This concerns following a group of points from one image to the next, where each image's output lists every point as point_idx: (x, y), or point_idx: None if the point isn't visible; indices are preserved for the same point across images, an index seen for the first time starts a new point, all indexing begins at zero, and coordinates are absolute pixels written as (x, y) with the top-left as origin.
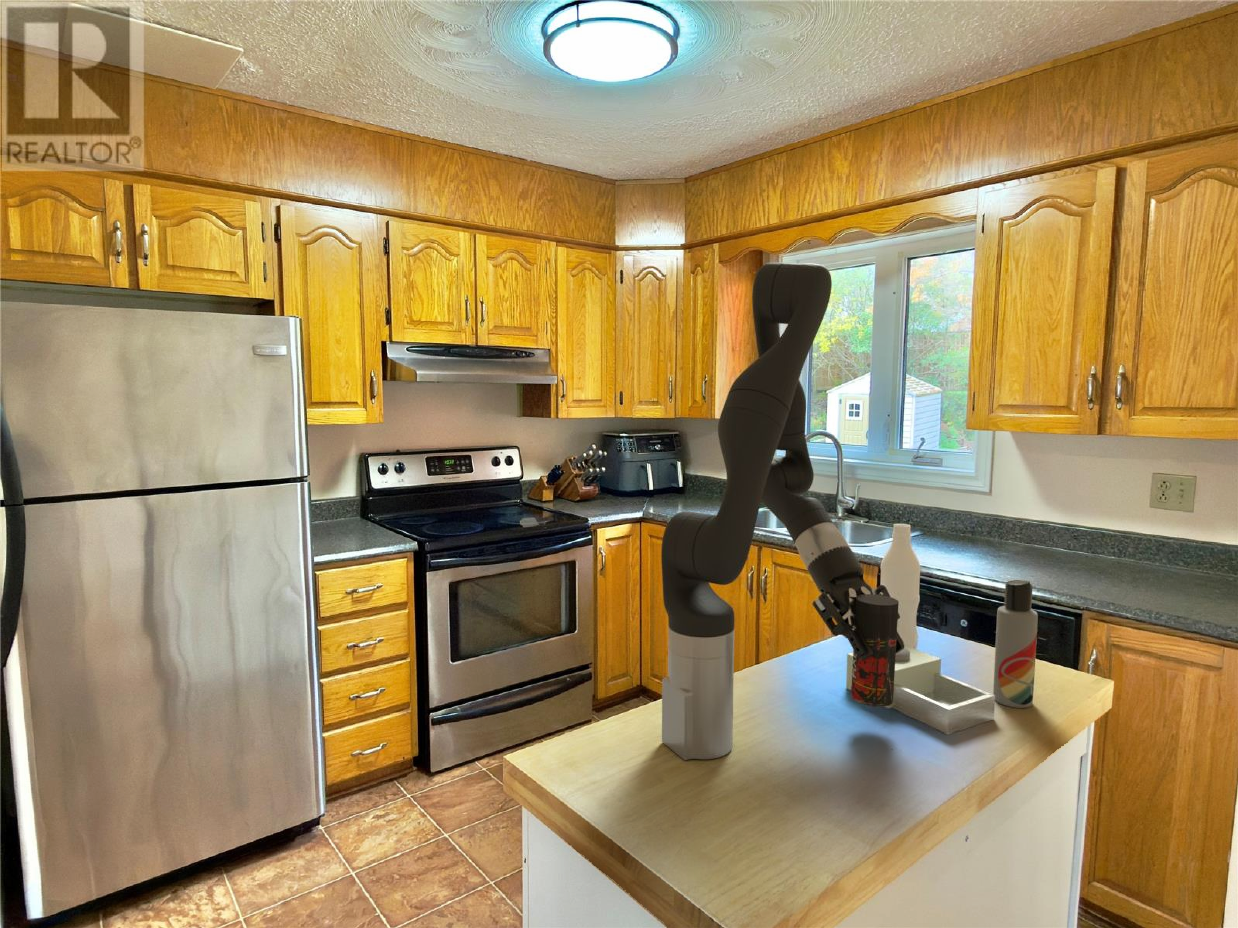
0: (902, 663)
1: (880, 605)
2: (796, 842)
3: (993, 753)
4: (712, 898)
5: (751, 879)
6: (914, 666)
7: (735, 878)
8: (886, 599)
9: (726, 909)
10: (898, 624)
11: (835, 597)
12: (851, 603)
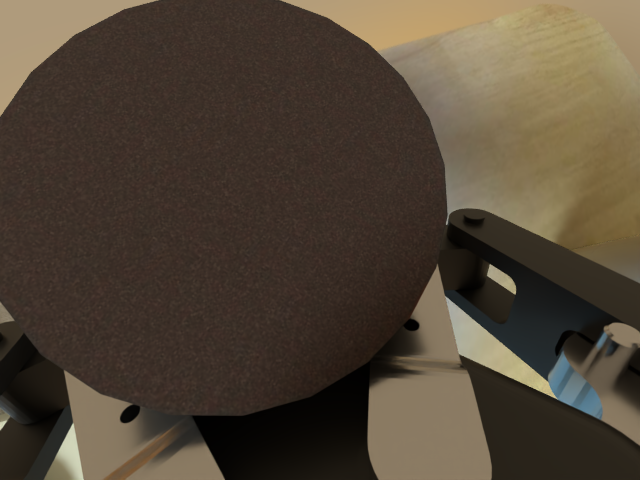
0: None
1: (322, 21)
2: (509, 69)
3: None
4: (598, 35)
5: (563, 42)
6: (2, 421)
7: (576, 47)
8: (116, 157)
9: (589, 22)
10: None
11: (588, 414)
12: (432, 310)
